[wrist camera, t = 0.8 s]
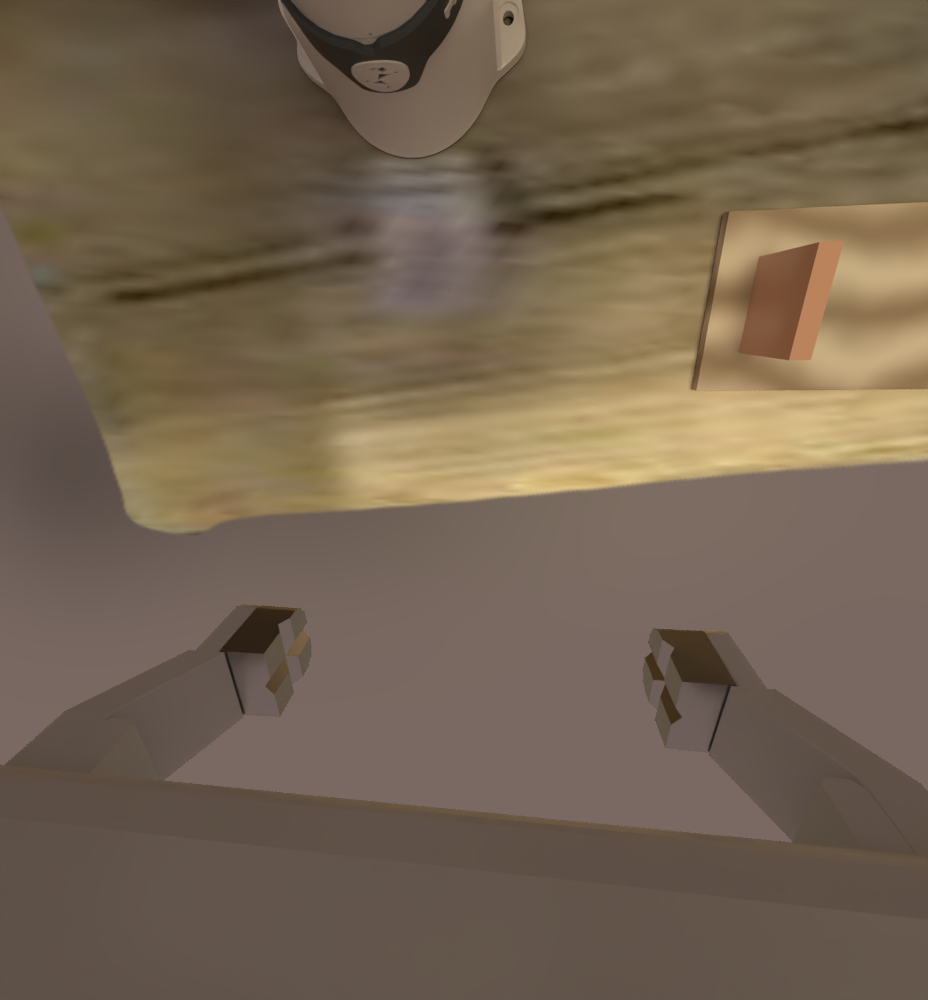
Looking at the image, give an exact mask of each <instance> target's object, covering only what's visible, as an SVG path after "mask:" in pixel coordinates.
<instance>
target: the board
mask: <svg viewBox="0 0 928 1000" xmlns="http://www.w3.org/2000/svg"><path fill="white" fill-rule="evenodd" d="M830 241H844V243H843V246H842V250H841V254H840V257H839V261H838V264H837V268H836V272H835V275H834V279H833V282H832V286H831V290H830V293H829V297H828V300H827V304H826V308H825V311H824V315H823V318H822V322H821V326H820V329H819V333H818V336H817V340H816V344H815V347H814V351H813V354H812V358H811V360H783V359H776V358H769V357H763V356H756V355H750V354H743V353H739V348H740V344H741V339H742V334H743V330H744V325H745V320H746V316H747V311H748V306H749V302H750V297H751V292H752V288H753V283H754V278H755V274H756V269H757V264H758V260H759V257H760V256H764V255H768V254H772V253H777V252H781V251H785V250H789V249H793V248H797V247H801V246H805V245H809V244H813V243H817V242H830ZM692 389H693V390H696V391H719V390H838V389H928V202H919V203H898V204H876V205H855V206H834V207H813V208H792V209H771V210H750V211H729V212H727V213H725V214H723V217H722V222H721V228H720V234H719V239H718V245H717V250H716V256H715V261H714V267H713V273H712V278H711V284H710V289H709V295H708V301H707V306H706V312H705V317H704V323H703V328H702V334H701V340H700V345H699V351H698V356H697V362H696V367H695V373H694V379H693V384H692Z"/></svg>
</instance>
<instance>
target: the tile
mask: <svg viewBox="0 0 928 1000" xmlns="http://www.w3.org/2000/svg"><path fill="white" fill-rule="evenodd" d="M843 243H844V241H830V242H817V243H813V244H809V245H805V246H801V247H797V248H793V249H789V250H785V251H781V252H777V253H772V254H768V255H764V256H760V257H759V260H758V264H757V269H756V274H755V278H754V283H753V288H752V292H751V297H750V302H749V306H748V311H747V316H746V320H745V325H744V330H743V334H742V339H741V344H740V348H739V353H743V354H750V355H756V356H763V357H769V358H776V359H783V360H811V358H812V354H813V351H814V347H815V344H816V340H817V336H818V333H819V329H820V326H821V322H822V318H823V315H824V311H825V308H826V304H827V300H828V297H829V293H830V290H831V286H832V282H833V279H834V275H835V272H836V268H837V264H838V261H839V257H840V254H841V250H842V246H843Z"/></svg>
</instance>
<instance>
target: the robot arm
mask: <svg viewBox="0 0 928 1000" xmlns="http://www.w3.org/2000/svg"><path fill="white" fill-rule="evenodd" d="M278 4H279V8H280V11H281V14H282V16H283V18H284V19H285V21H286V23H287V25H288V26H289V28H290V30H291V31H292V33H293V35H294V37H295V38H296V40H297V57H298V61H299V63H300V65H301V67H302V69H303V70H304V72H305V73H306V75H307V76H308V77H309V78H310V79H311V80H312V81H313V82H315V83H316V84H317V85H318V86H320V87H321V88H322V89H324V90H325V91H327V92H328V93H330V94H331V95H332V97H333V98H334V99H335V100H336V102H337V103H338V105H339V106H340V108H341V110H342V111H343V113H344V114H345V116H346V118H347V119H348V120H349V122H350V123H351V125H352V126H353V127H354V128H355V130H356V131H357V132H358V133H359V134H360V135H361V136H362V137H363V138H364V139H365V140H367V141H368V142H369V143H371V144H372V145H373V146H375V147H376V148H378V149H380V150H382V151H384V152H386V153H389V154H392V155H395V156H399V157H406V158H418V157H425V156H429V155H432V154H435V153H438V152H440V151H442V150H444V149H446V148H447V147H449V146H451V145H452V144H453V143H455V142H456V141H457V140H458V139H460V138H461V137H462V136H463V135H464V134H465V133H466V132H467V131H468V129H469V128H470V127H471V126H472V124H473V123H474V122H475V120H476V119H477V117H478V116H479V114H480V112H481V111H482V109H483V107H484V105H485V103H486V101H487V99H488V97H489V95H490V93H491V91H492V89H493V87H494V86H495V84H496V83H497V81H498V80H499V79H500V78H501V77H502V76H504V75H505V74H506V73H507V72H508V71H509V70H510V69H511V68H512V67H513V66H514V65H515V64H516V63H517V62H518V61H519V59H520V58H521V56H522V55H523V53H524V51H525V48H526V30H525V22H524V14H523V6H522V0H278ZM508 16H509V17H512V18H513V23H512V24H511V25H509V26H507V25H505V24H504V22H503V21H504V19H505V18H506V17H508ZM306 623H307V620H306V616H305V612H304V611H303V610H302V609H300V608H288V607H275V606H263V605H262V606H258V605H245V604H243V605H240V606H237V607H236V608H235V609H234V610H233V611H232V612H231V613H230V614H229V615H228V616H227V617H226V618H225V620H224V621H223V622H222V623H221V624H220V625H219V626H218V627H217V628H216V629H215V630H214V631H213V632H212V633H211V635H210V636H209V637H208V638H207V639H206V640H205V641H204V642H203V643H202V644H201V645H200V646H199V647H198V648H197V649H196V650H188V651H186V652H184V653H182V654H180V655H178V656H176V657H174V658H172V659H170V660H168V661H166V662H164V663H162V664H160V665H158V666H156V667H154V668H152V669H149V670H147V671H145V672H143V673H141V674H139V675H137V676H136V677H133V678H132V679H129V680H127V681H125V682H123V683H121V684H119V685H117V686H115V687H113V688H111V689H109V690H107V691H105V692H103V693H101V694H99V695H97V696H95V697H93V698H90V699H88V700H86V701H84V702H83V703H80V704H78V705H76V706H74V707H72V708H70V709H68V710H66V711H64V712H63V713H62V714H61V715H60V716H59V717H58V718H57V719H55V720H54V721H53V722H52V723H51V724H50V725H49V726H48V727H46V728H45V729H44V730H43V731H42V732H41V733H40V734H39V735H38V736H36V737H35V738H34V739H33V740H32V741H31V742H30V743H29V744H27V745H26V746H25V747H24V748H23V749H22V750H21V751H20V752H18V753H17V754H16V755H15V756H14V757H13V758H12V759H11V760H9V761H8V762H7V763H6V764H5V765H0V1000H928V791H927V790H926V789H925V788H924V786H923V785H922V784H921V783H919V782H918V781H916V780H915V779H913V778H911V777H910V776H908V775H907V774H905V773H904V772H902V771H901V770H899V769H898V768H896V767H894V766H893V765H891V764H890V763H888V762H887V761H885V760H884V759H882V758H880V757H879V756H877V755H876V754H874V753H873V752H871V751H870V750H868V749H867V748H865V747H863V746H862V745H860V744H859V743H857V742H856V741H854V740H853V739H851V738H850V737H848V736H846V735H845V734H843V733H842V732H840V731H839V730H837V729H836V728H834V727H833V726H831V725H830V724H828V723H826V722H825V721H823V720H822V719H820V718H819V717H817V716H816V715H814V714H812V713H811V712H809V711H808V710H806V709H805V708H803V707H802V706H800V705H799V704H797V703H795V702H794V701H792V700H791V699H789V698H788V697H786V696H785V695H783V694H782V693H780V692H778V691H777V690H775V689H767V688H766V686H765V685H764V684H763V682H762V680H761V679H760V678H759V676H758V675H757V673H756V672H755V670H754V669H753V668H752V666H751V665H750V663H749V662H748V660H747V659H746V657H745V656H744V655H743V653H742V652H741V650H740V649H739V647H738V646H737V645H736V643H735V642H734V640H733V639H732V637H731V636H730V635H729V634H728V633H727V632H725V631H712V630H700V631H696V630H676V629H675V630H674V629H656V628H653V629H652V631H651V633H650V636H649V641H648V643H649V646H650V648H651V651H652V653H650V654H649V655H648V656H647V657H646V658H645V661H644V667H643V683H644V687H645V692H646V695H647V698H648V701H649V703H651V704H652V705H653V706H654V707H655V708H656V709H657V713H656V718H655V721H656V724H657V726H658V729H659V732H660V734H661V737H662V740H663V743H664V745H665V748H670V749H679V750H689V751H697V752H707V753H709V756H710V757H711V758H712V759H713V760H714V761H715V762H716V763H717V764H718V765H719V766H720V767H721V768H722V769H723V770H724V771H725V772H726V773H727V774H728V775H729V776H730V777H731V778H732V779H733V780H734V781H735V783H736V784H738V785H739V787H740V788H741V789H742V790H743V791H744V792H745V793H746V794H747V795H748V796H749V797H750V798H751V799H752V800H753V801H754V802H755V803H756V804H757V805H758V806H759V807H760V808H761V809H762V810H763V812H765V814H766V815H767V816H768V817H769V818H770V819H771V820H772V821H773V822H774V823H775V824H776V825H777V826H778V827H779V828H780V829H781V830H782V831H783V832H784V833H785V834H786V835H787V836H788V837H789V838H790V839H791V841H792V842H782V841H771V840H761V839H752V838H741V837H731V836H721V835H711V834H701V833H691V832H681V831H671V830H660V829H650V828H640V827H630V826H619V825H609V824H599V823H588V822H579V821H568V820H558V819H547V818H537V817H526V816H517V815H507V814H497V813H486V812H476V811H466V810H456V809H446V808H436V807H426V806H416V805H405V804H395V803H385V802H375V801H365V800H355V799H345V798H335V797H325V796H324V797H323V796H314V795H304V794H294V793H284V792H273V791H263V790H253V789H243V788H233V787H222V786H212V785H202V784H192V783H182V782H172V781H164V780H165V779H166V778H167V777H169V776H170V775H171V774H172V773H174V772H175V771H176V770H177V769H178V768H180V767H181V766H182V765H183V764H185V763H186V762H188V761H189V760H190V759H191V758H193V757H194V756H195V755H196V754H197V753H199V752H200V751H201V750H203V749H204V748H205V747H206V746H208V745H209V744H210V743H211V742H213V741H214V740H215V739H216V738H218V737H219V736H220V735H222V734H223V733H224V732H225V731H226V730H228V729H229V728H230V727H232V726H233V725H234V724H235V723H237V722H238V721H239V720H240V719H242V718H243V715H254V716H275V717H280V716H281V714H282V712H283V711H284V709H285V707H286V705H287V704H288V702H289V700H290V698H291V697H292V695H293V693H294V691H293V687H292V684H293V683H295V682H296V681H298V680H299V679H301V678H302V677H303V675H304V673H305V672H306V670H307V668H308V665H309V661H310V657H311V640H310V637H309V636H308V635H307V634H306V632H304V630H303V628H304V626H305V625H306Z"/></svg>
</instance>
